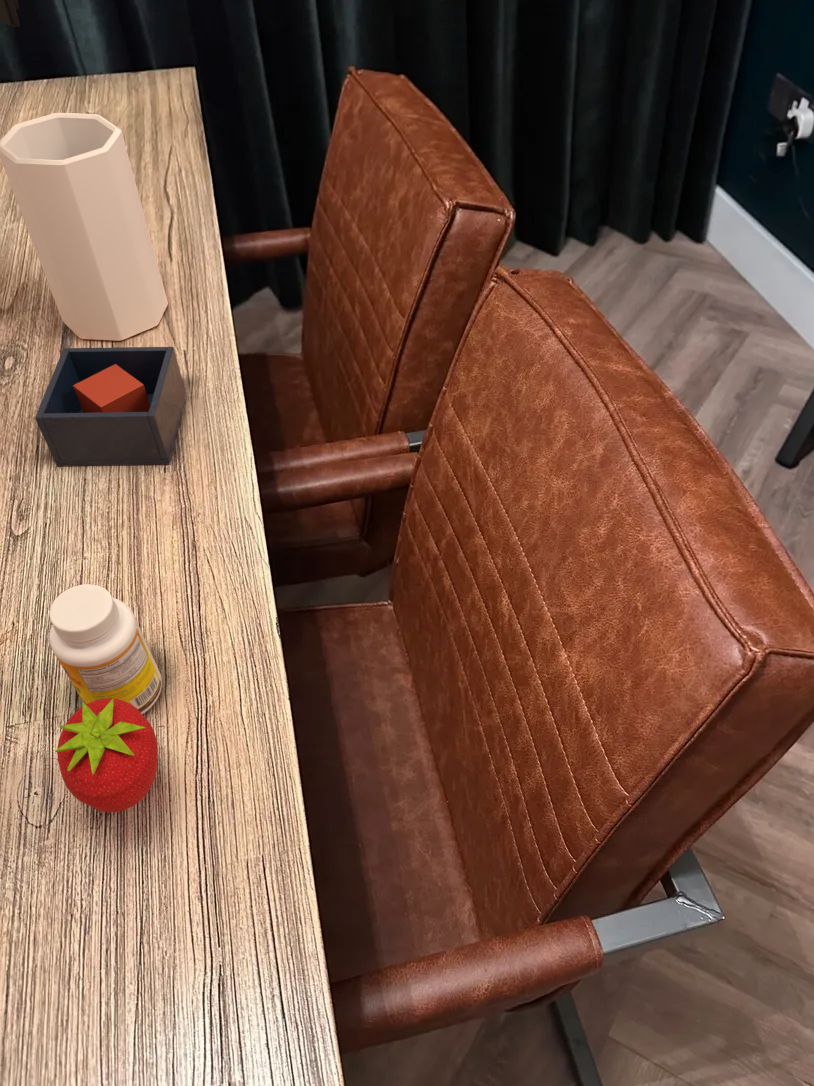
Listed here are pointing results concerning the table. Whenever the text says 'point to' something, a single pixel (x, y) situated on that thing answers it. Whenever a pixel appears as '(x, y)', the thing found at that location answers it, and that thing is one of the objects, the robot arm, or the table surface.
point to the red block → (112, 392)
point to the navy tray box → (113, 432)
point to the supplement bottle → (103, 648)
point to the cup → (86, 223)
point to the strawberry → (108, 755)
